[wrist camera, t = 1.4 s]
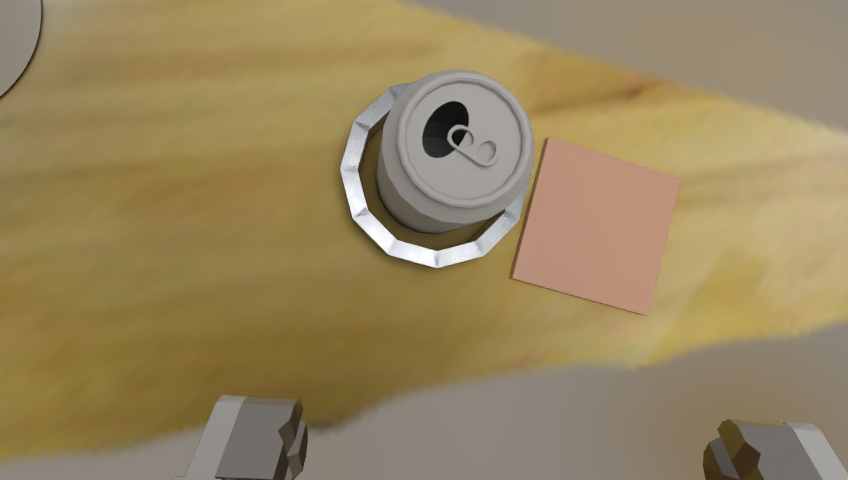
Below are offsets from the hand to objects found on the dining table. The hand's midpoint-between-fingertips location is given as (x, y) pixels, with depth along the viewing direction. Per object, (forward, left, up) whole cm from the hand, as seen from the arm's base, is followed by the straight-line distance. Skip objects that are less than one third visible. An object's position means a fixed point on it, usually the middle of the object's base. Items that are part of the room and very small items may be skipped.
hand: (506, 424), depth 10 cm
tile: (+12, +9, -25) cm, 29 cm away
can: (0, +9, -25) cm, 26 cm away
